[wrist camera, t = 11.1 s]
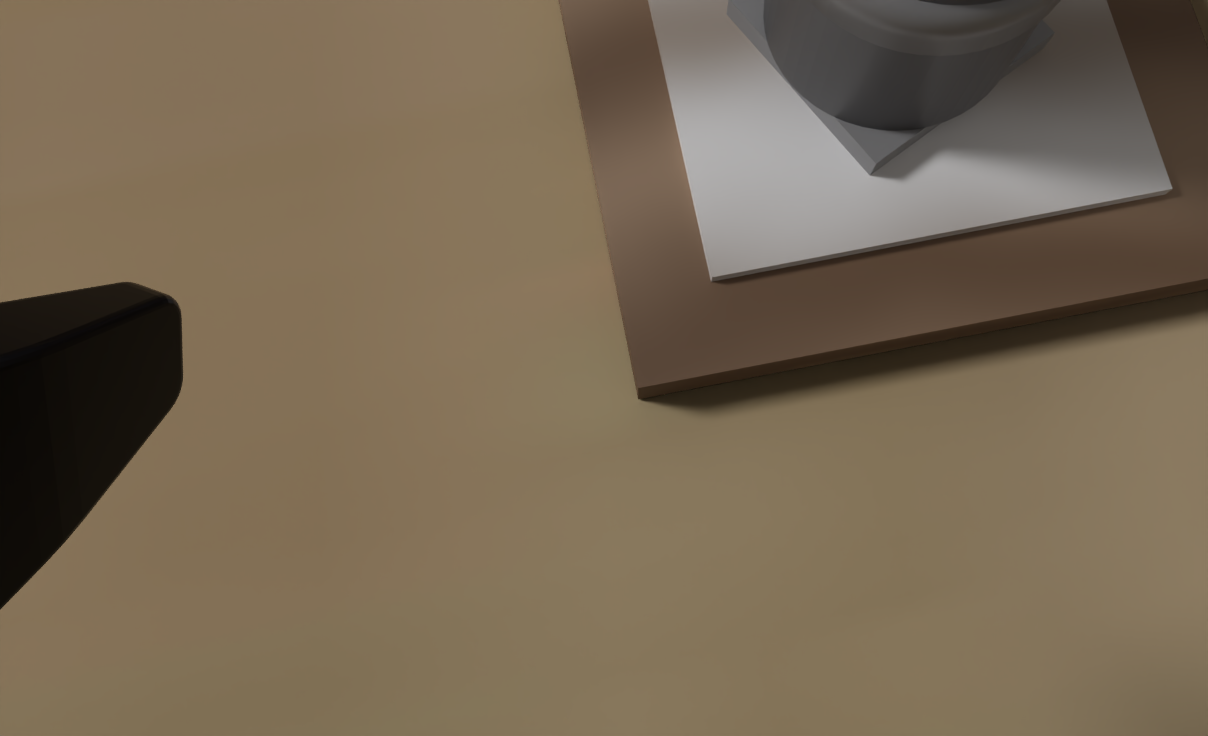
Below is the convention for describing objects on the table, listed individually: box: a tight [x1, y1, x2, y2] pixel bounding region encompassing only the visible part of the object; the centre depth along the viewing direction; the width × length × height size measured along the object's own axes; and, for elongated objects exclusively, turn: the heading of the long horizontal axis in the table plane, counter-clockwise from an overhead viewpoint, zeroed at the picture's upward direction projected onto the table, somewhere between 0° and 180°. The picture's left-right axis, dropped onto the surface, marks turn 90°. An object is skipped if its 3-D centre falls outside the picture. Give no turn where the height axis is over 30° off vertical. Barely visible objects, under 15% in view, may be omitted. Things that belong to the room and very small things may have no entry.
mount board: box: [559, 0, 1208, 399], centre depth 23 cm, size 14×14×2 cm
